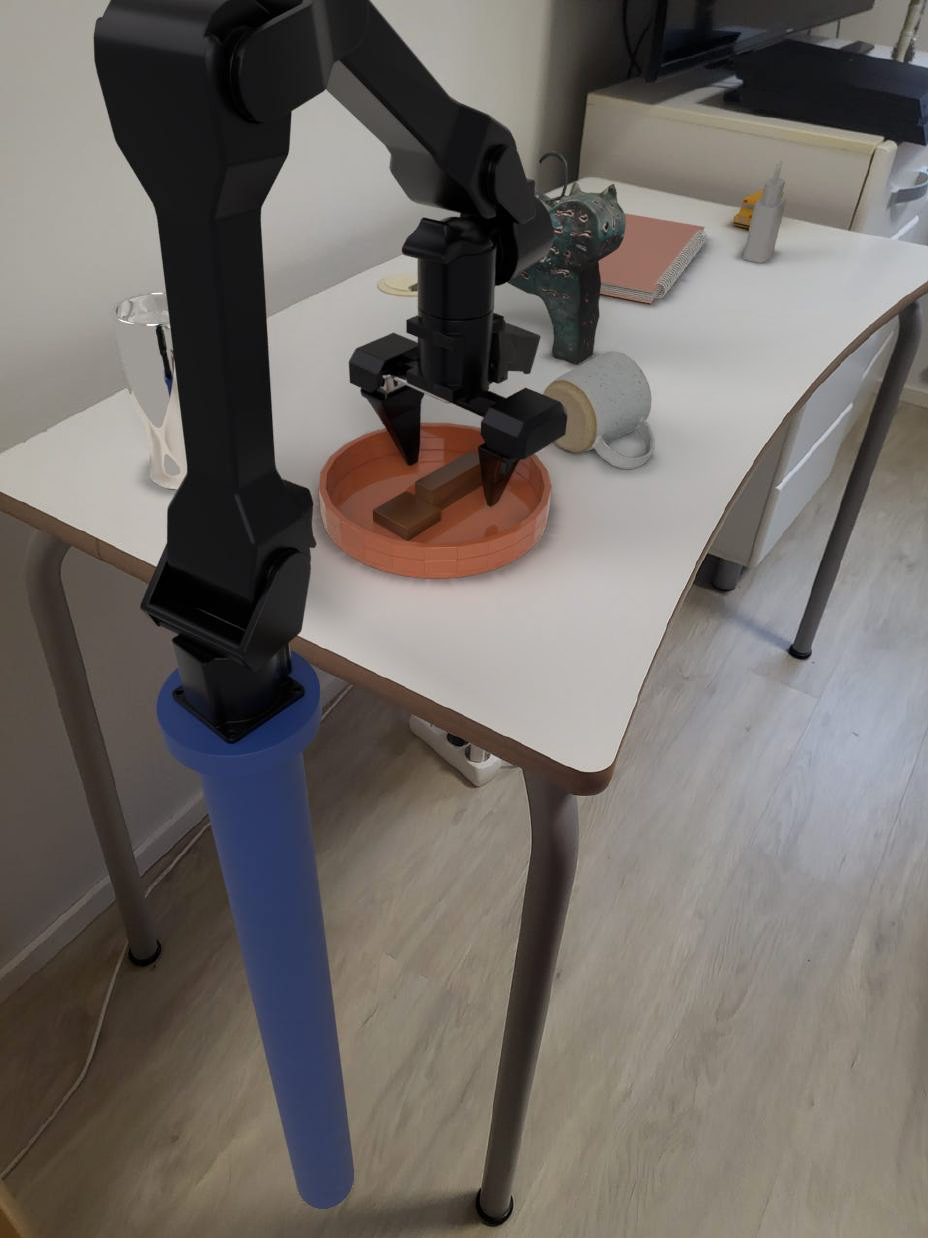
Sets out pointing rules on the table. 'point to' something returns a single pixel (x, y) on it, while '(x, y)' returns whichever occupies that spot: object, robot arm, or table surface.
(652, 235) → the notebook
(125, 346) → the beer glass
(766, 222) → the grey nozzle bottle
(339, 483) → the bowl
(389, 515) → the stepped brown block
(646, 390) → the ceramic mug
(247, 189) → the robot arm
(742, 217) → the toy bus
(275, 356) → the table surface
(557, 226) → the ceramic cat
